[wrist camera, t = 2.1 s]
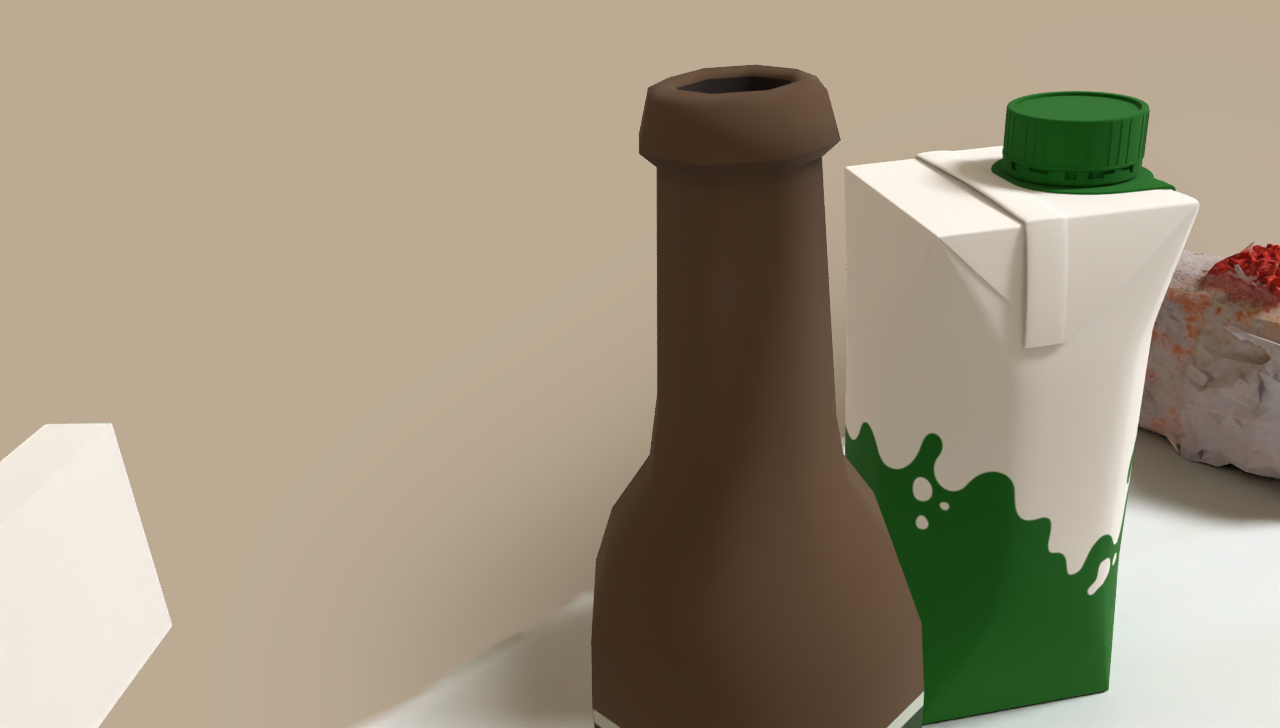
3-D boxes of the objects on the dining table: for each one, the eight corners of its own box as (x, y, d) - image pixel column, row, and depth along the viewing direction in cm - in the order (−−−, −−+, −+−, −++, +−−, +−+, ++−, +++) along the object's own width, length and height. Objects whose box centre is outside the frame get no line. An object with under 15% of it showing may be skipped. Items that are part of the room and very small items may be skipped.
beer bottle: (691, 1179, 25) (609, 161, 15) (578, 910, 32) (466, 75, 21) (968, 1037, 27) (1065, 81, 17) (810, 815, 34) (811, 27, 24)
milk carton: (1148, 705, 37) (1248, 128, 29) (897, 752, 36) (923, 167, 28) (1024, 558, 45) (1073, 71, 37) (815, 593, 44) (815, 99, 35)
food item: (1424, 465, 49) (1481, 262, 45) (1344, 533, 45) (1399, 317, 41) (1143, 372, 60) (1168, 199, 55) (1056, 421, 55) (1076, 238, 51)
